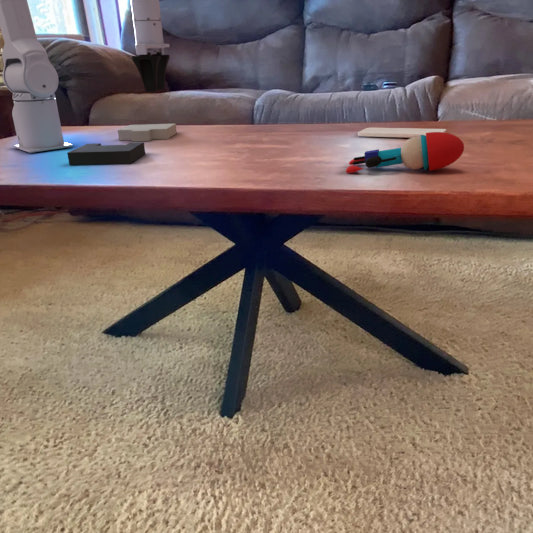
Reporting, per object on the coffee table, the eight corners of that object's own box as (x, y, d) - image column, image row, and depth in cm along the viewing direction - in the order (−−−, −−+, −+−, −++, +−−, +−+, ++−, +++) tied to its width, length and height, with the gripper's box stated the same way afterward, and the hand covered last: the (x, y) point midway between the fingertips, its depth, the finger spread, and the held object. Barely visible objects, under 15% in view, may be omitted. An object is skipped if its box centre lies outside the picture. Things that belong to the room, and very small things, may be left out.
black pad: (88, 155, 88) (86, 143, 87) (145, 154, 87) (144, 142, 86) (69, 165, 80) (66, 152, 80) (131, 163, 80) (129, 150, 79)
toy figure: (347, 186, 68) (467, 169, 63) (341, 148, 66) (464, 128, 62) (353, 177, 74) (462, 161, 70) (349, 143, 73) (460, 125, 68)
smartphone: (368, 127, 101) (447, 128, 94) (367, 131, 101) (446, 133, 95) (356, 132, 95) (440, 134, 88) (356, 137, 95) (439, 139, 89)
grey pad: (131, 134, 110) (129, 124, 109) (176, 133, 109) (175, 123, 108) (115, 142, 101) (114, 131, 100) (165, 140, 100) (164, 130, 99)
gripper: (157, 18, 99) (165, 92, 104) (174, 22, 112) (180, 87, 117) (121, 20, 99) (131, 93, 104) (142, 23, 112) (150, 88, 118)
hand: (155, 90), depth 111 cm, fingers open, 6 cm apart
